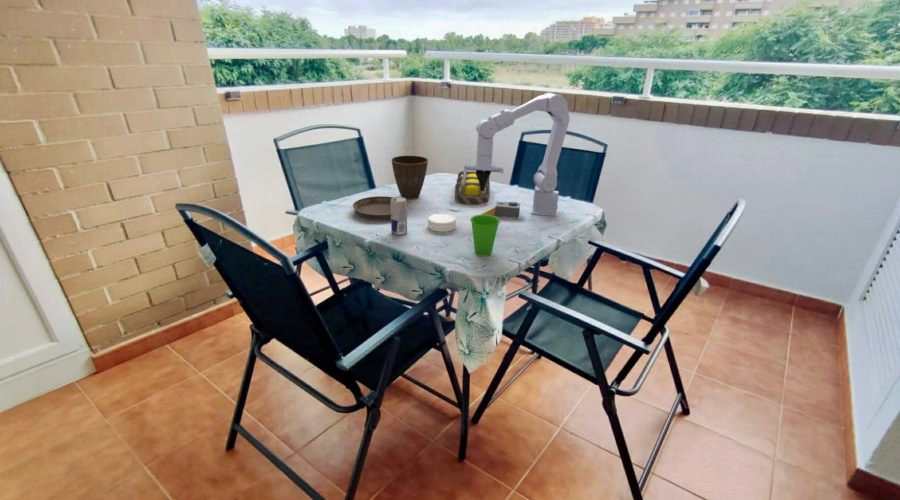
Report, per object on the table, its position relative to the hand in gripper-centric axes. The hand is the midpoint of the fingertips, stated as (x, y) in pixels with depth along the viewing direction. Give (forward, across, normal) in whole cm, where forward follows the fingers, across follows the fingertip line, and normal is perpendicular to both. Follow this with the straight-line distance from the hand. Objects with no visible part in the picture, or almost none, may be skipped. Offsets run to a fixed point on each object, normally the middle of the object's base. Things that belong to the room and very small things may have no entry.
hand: (482, 190), depth 163 cm
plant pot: (+10, +32, -13) cm, 36 cm away
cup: (+10, -5, +35) cm, 37 cm away
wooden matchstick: (+9, -3, +6) cm, 11 cm away
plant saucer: (+10, +38, +8) cm, 40 cm away
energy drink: (+10, +25, +26) cm, 37 cm away
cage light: (+10, +7, -24) cm, 27 cm away
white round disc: (+10, +12, +17) cm, 23 cm away
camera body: (+9, -10, -2) cm, 14 cm away
